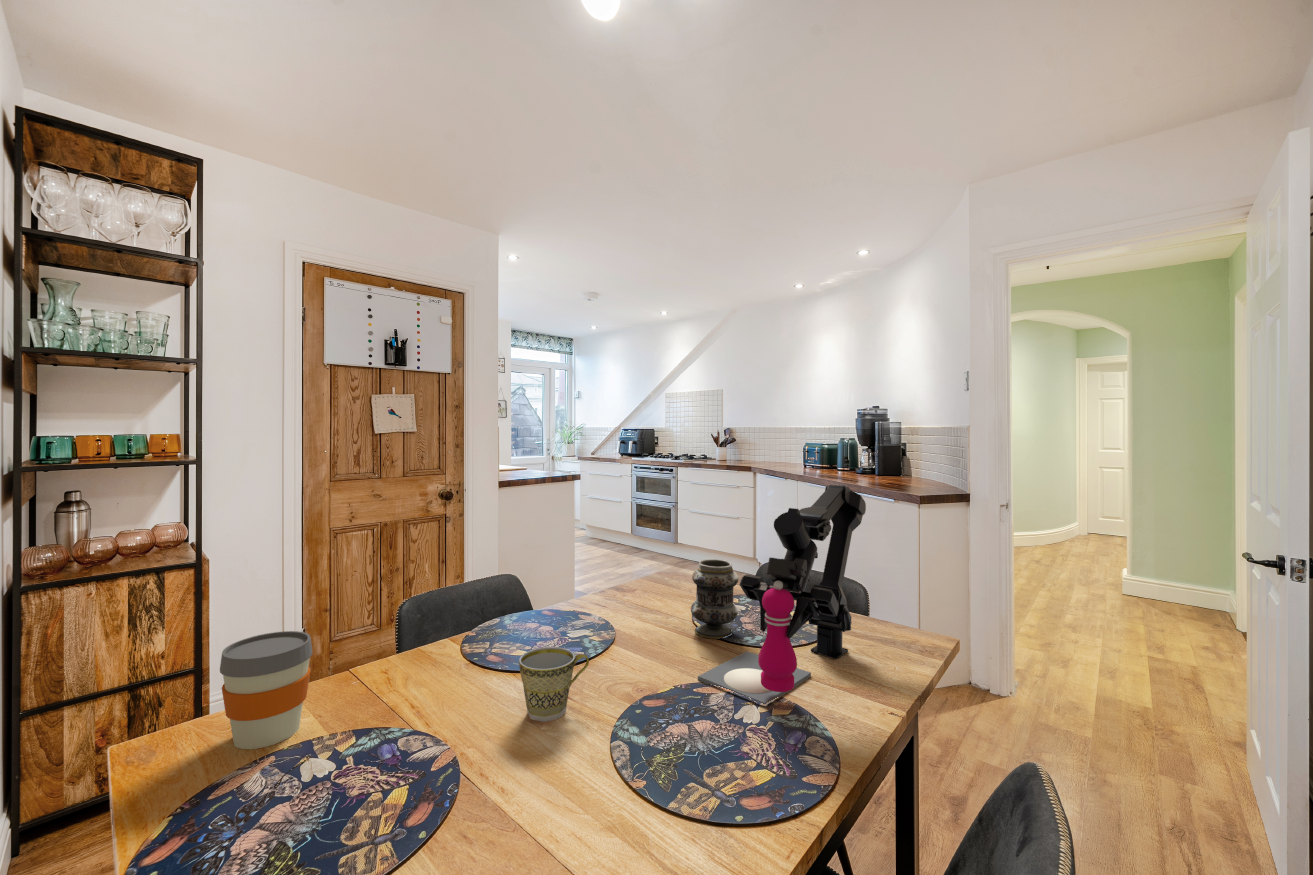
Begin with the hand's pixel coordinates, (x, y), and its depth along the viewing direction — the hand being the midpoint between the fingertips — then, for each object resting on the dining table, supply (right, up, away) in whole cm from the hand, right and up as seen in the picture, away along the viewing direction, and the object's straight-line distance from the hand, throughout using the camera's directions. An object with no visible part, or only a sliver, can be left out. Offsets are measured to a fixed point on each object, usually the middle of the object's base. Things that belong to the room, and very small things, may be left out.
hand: (774, 633), depth 102 cm
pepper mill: (+1, -10, +1) cm, 10 cm away
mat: (-2, -13, +11) cm, 17 cm away
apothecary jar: (-8, -13, +37) cm, 40 cm away
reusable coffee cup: (-87, -13, -12) cm, 89 cm away
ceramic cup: (-41, -13, -3) cm, 43 cm away
